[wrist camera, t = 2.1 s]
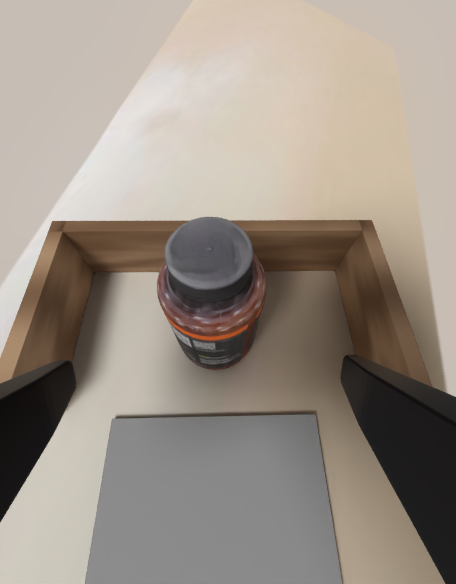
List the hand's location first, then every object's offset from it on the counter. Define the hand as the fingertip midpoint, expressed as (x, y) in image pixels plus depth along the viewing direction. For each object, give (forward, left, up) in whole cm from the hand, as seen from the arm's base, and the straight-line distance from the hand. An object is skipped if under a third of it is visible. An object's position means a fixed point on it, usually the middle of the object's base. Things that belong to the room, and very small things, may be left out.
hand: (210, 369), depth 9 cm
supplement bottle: (+5, +1, -12) cm, 13 cm away
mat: (-8, -1, -12) cm, 14 cm away
